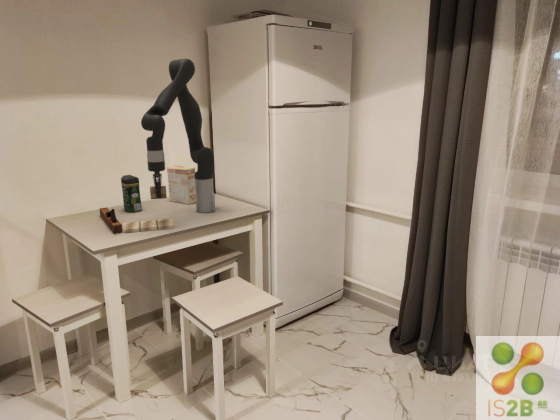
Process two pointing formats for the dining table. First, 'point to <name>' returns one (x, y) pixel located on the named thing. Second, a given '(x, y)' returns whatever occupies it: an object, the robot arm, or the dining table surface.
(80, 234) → the dining table surface
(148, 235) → the dining table surface
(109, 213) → the hand plane
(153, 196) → the block
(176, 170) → the coffeecake box
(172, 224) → the board
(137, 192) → the coffee jar
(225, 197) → the dining table surface
